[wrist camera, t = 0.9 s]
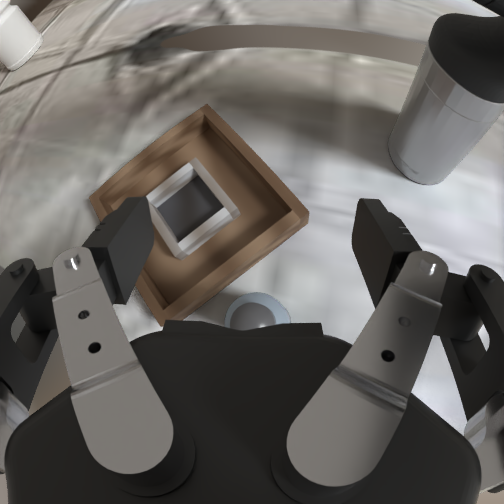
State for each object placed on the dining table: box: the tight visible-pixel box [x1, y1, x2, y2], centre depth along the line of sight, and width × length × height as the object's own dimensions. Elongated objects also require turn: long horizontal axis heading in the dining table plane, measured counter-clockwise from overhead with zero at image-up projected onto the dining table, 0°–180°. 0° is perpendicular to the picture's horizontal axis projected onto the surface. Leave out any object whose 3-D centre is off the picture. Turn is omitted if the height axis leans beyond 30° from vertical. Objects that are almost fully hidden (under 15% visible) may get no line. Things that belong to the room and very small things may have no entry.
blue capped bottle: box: [225, 292, 291, 330], centre depth 26 cm, size 4×4×14 cm
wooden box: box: [89, 104, 309, 327], centre depth 35 cm, size 19×19×4 cm
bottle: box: [0, 0, 43, 71], centre depth 43 cm, size 14×14×28 cm
